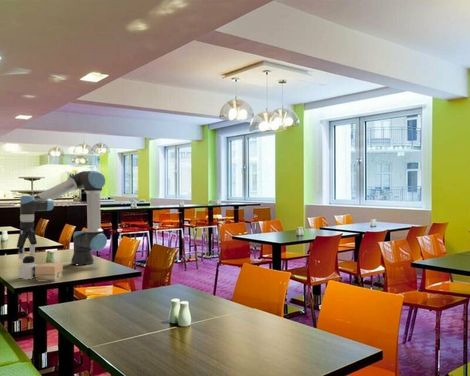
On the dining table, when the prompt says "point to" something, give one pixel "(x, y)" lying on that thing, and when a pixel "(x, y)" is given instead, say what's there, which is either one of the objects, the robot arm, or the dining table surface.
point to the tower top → (49, 268)
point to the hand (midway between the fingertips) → (27, 257)
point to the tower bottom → (48, 276)
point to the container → (27, 267)
